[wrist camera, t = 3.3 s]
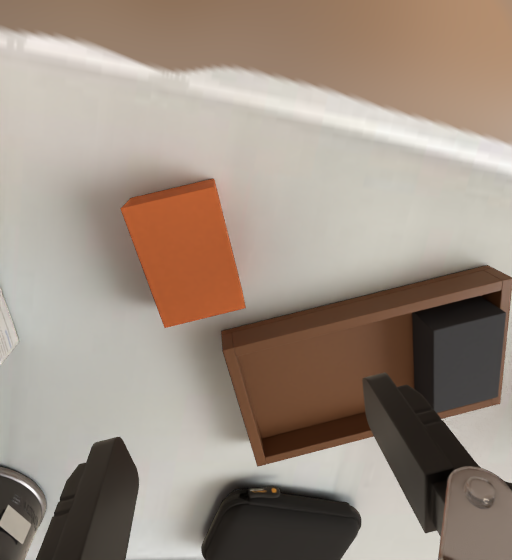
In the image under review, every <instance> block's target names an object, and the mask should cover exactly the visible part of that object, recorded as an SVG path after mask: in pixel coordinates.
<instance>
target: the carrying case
mask: <svg viewBox="0 0 512 560" xmlns="http://www.w3.org/2000/svg"><path fill="white" fill-rule="evenodd" d="M360 527H361V517H360V514H359V512H358V511H357V510H356V509H355V508H354V507H352V506H350V505H349V503H347V502H336V501H330V500H323V499H317V498H310V497H303V496H297V495H289V494H281V493H280V490H279V488H278V487H275V486H270V487H264V488H249V489H239V490H235V491H233V492H231V493H230V494H229V495H228V496H227V498H225V499H224V500H223V501H222V503H221V505H220V507H219V509H218V511H217V513H216V516H215V518H214V520H213V522H212V524H211V526H210V528H209V531H208V533H207V535H206V537H205V539H204V541H203V544H202V555H203V557H204V558H205V560H340V559H341V558H342V556H343V555H344V553H345V552H346V550H347V549H348V548H349V546H350V545H351V543H352V542H353V540H354V539H355V537H356V536H357V533H358V531H359V529H360Z"/></svg>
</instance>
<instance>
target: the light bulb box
mask: <svg viewBox="0 0 512 560" xmlns="http://www.w3.org/2000/svg"><path fill="white" fill-rule="evenodd" d="M18 343H19V339H18V336H17V333H16V330H15V327H14V325H13V322H12V319H11V316H10V313H9V311H8V308H7V305H6V302H5V300H4V297H3V294H2V291H1V289H0V365H1V364H2V362H3V361H4V360H5V359H6V358H7V356H8V355H9V354H10V353H11V352H12V350H13V349H14V348H15V347H16V346H17V344H18Z"/></svg>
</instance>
